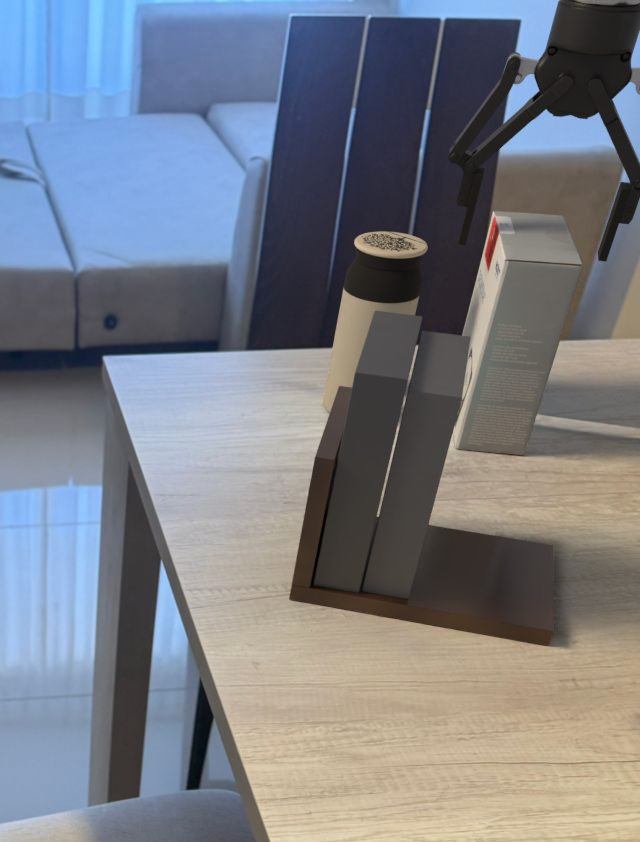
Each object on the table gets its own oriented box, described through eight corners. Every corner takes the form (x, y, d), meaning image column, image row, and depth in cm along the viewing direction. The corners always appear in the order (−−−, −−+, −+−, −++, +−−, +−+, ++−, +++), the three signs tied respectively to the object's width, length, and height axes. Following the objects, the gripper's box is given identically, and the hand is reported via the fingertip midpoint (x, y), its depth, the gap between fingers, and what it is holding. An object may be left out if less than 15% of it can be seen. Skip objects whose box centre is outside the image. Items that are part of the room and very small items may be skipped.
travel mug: (353, 429, 128) (388, 258, 116) (307, 403, 133) (336, 236, 121) (407, 415, 131) (447, 247, 119) (360, 389, 136) (394, 226, 124)
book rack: (548, 558, 108) (597, 420, 99) (548, 646, 97) (602, 500, 88) (313, 520, 113) (339, 385, 104) (288, 599, 102) (314, 457, 93)
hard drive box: (445, 392, 136) (492, 209, 122) (513, 398, 135) (567, 214, 121) (452, 450, 124) (505, 255, 111) (526, 457, 123) (588, 261, 110)
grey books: (421, 525, 109) (474, 322, 96) (408, 602, 99) (465, 387, 87) (334, 511, 111) (374, 310, 98) (312, 585, 101) (354, 372, 88)
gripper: (458, -7, 103) (403, 245, 117) (761, 14, 97) (664, 276, 112) (462, -19, 108) (409, 223, 122) (751, 0, 103) (659, 252, 117)
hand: (531, 249), depth 117 cm, fingers open, 13 cm apart
